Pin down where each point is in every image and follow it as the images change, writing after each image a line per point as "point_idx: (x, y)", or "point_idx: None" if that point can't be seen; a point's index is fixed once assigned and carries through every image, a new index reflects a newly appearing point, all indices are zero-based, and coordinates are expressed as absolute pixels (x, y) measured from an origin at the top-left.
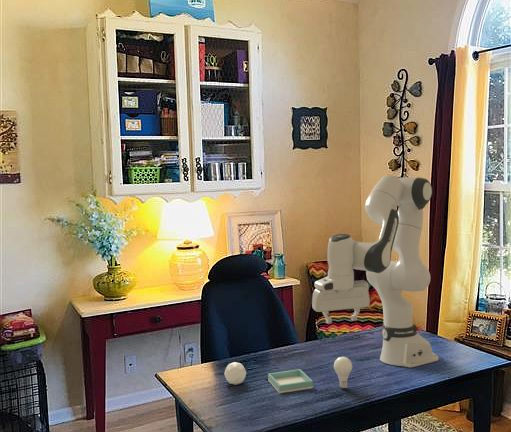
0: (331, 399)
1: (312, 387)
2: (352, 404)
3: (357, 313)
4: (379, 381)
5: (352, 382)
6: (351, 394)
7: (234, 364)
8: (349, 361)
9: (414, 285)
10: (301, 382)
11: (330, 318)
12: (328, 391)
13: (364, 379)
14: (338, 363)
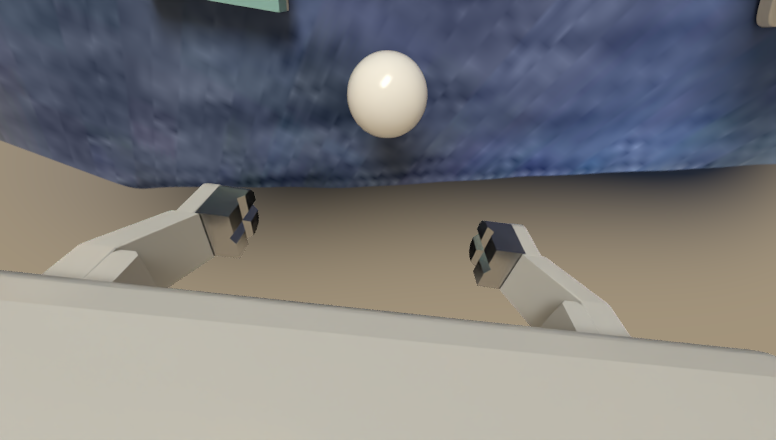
0: (315, 131)
1: (286, 9)
2: (352, 181)
3: (527, 313)
4: (531, 86)
5: (449, 41)
6: None
7: None
8: (404, 131)
9: None
10: (227, 2)
11: (227, 254)
12: (331, 72)
13: (507, 37)
14: (354, 117)
